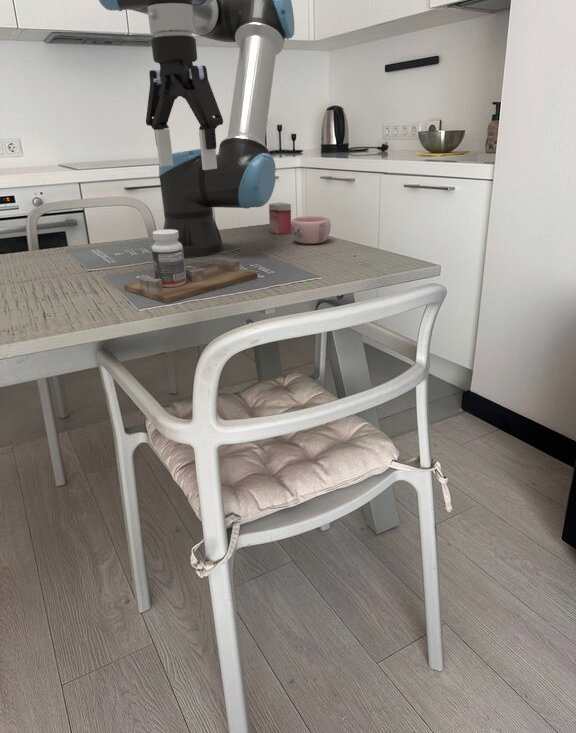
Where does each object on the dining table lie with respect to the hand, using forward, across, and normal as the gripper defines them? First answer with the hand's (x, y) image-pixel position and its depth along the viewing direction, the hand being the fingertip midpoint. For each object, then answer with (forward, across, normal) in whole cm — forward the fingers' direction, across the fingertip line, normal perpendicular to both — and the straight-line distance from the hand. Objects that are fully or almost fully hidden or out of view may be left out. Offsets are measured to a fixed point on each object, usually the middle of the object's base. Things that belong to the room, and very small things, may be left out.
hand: (187, 167), depth 107 cm
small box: (+23, -24, +46) cm, 56 cm away
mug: (+23, -8, +41) cm, 48 cm away
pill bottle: (+20, +2, -8) cm, 22 cm away
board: (+21, +1, -3) cm, 22 cm away
